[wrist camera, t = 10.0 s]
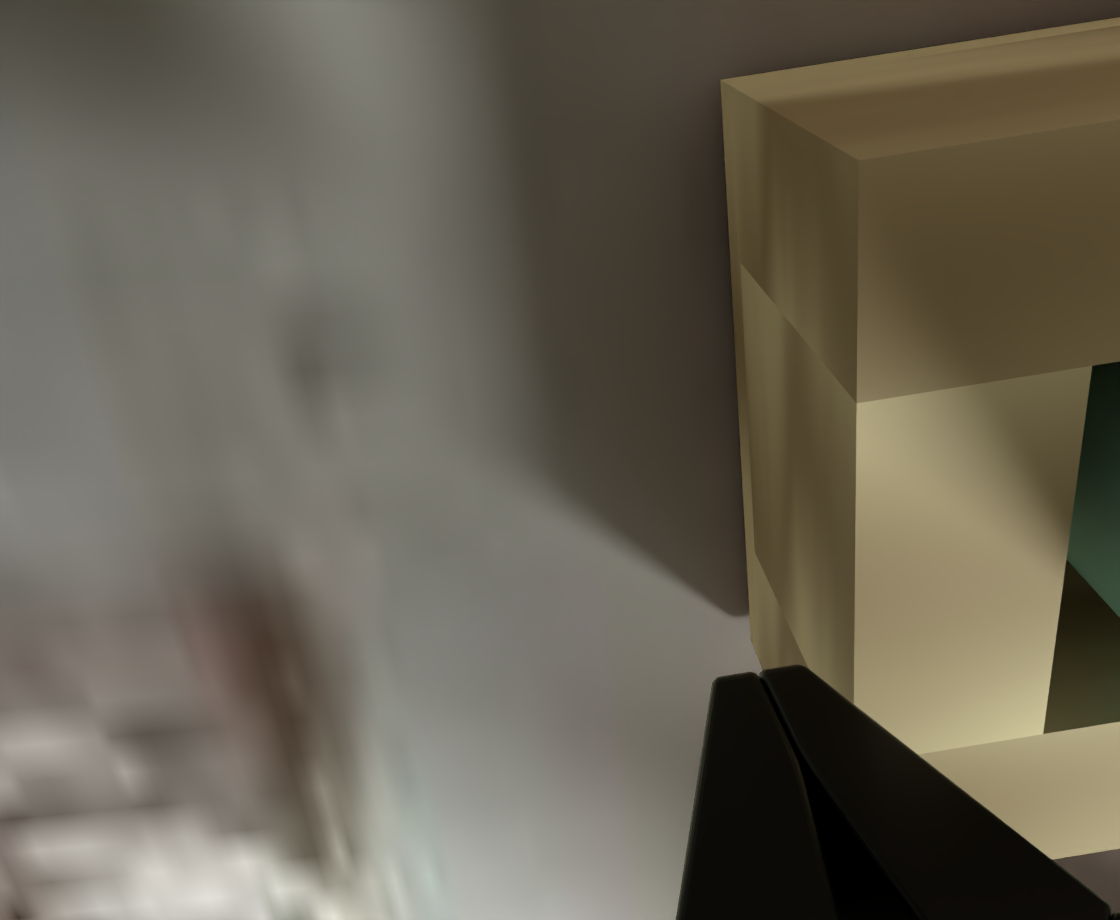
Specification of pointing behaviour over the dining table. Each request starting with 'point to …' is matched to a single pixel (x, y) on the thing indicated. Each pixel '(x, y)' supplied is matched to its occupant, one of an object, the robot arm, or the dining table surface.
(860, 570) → the block
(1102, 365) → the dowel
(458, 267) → the dining table surface
